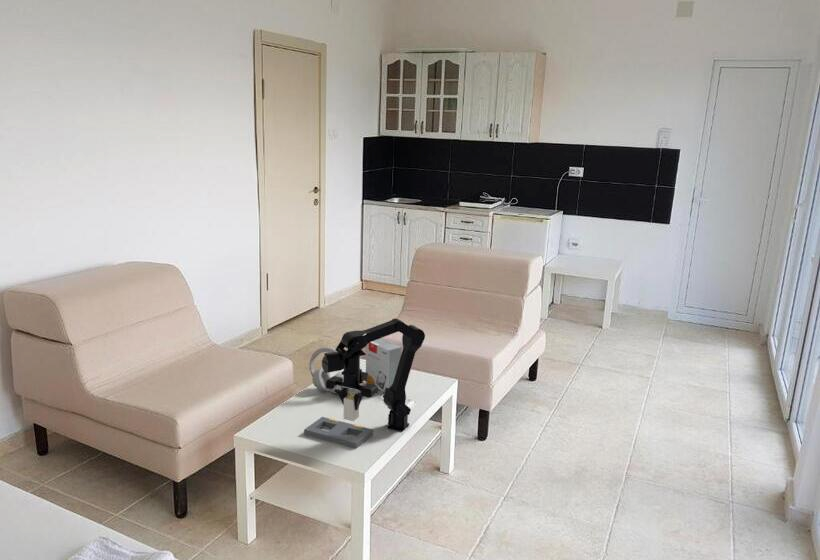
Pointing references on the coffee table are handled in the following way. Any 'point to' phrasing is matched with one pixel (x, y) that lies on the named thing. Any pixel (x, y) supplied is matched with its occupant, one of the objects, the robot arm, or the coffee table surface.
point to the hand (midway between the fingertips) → (351, 408)
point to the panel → (338, 432)
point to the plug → (350, 408)
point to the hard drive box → (382, 363)
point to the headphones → (322, 371)
